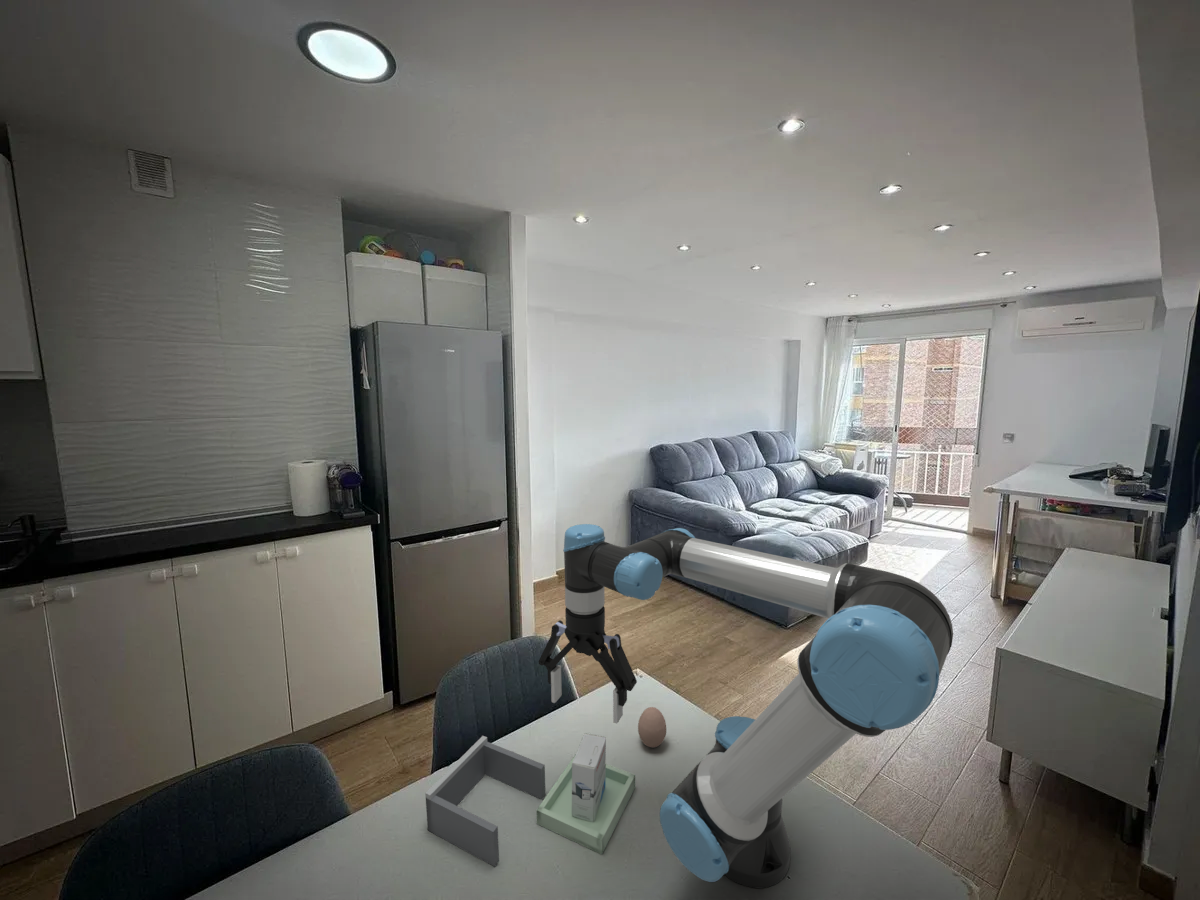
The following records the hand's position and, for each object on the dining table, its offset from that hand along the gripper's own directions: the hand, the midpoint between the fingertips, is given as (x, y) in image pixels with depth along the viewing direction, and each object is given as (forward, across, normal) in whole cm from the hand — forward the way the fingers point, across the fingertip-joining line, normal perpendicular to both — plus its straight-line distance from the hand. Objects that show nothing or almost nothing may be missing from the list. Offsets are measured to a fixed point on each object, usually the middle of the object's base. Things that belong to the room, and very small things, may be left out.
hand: (586, 708), depth 94 cm
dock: (+21, +17, +10) cm, 29 cm away
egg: (+21, -6, -21) cm, 30 cm away
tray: (+21, 0, 0) cm, 21 cm away
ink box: (+20, -1, 0) cm, 20 cm away
